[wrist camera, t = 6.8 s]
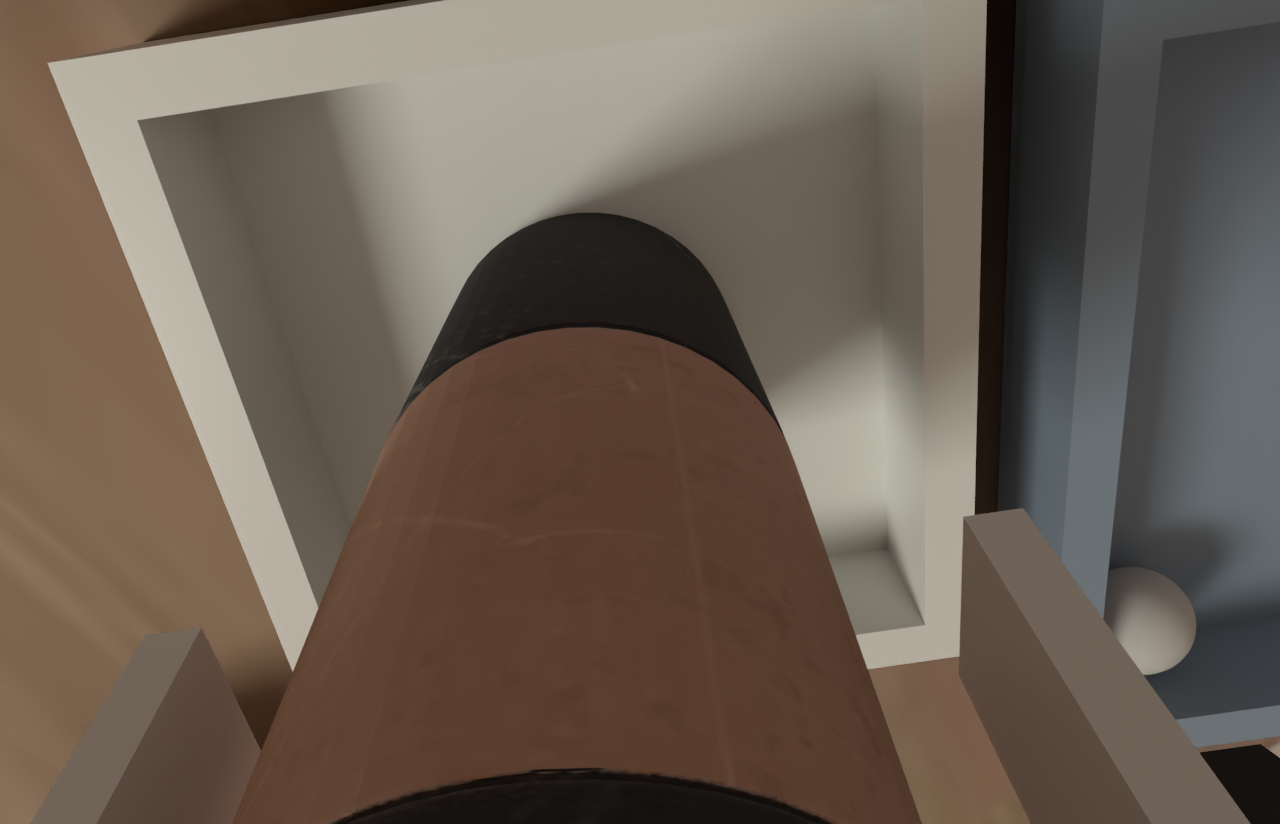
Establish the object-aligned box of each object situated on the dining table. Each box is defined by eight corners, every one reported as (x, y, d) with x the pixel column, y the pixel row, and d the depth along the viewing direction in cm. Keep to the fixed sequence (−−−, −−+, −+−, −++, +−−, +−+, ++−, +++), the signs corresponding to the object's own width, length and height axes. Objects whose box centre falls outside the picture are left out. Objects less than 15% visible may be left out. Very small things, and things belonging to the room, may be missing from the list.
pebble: (1055, 633, 29) (1103, 704, 26) (1062, 554, 27) (1113, 620, 25) (1153, 620, 29) (1212, 689, 26) (1164, 539, 27) (1227, 604, 25)
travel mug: (608, 513, 27) (624, 1641, 9) (385, 354, 24) (-191, 1480, 7) (798, 324, 25) (1329, 1360, 7) (572, 126, 22) (457, 936, 4)
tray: (356, 645, 28) (322, 746, 25) (141, 42, 21) (47, 63, 17) (922, 563, 28) (971, 654, 24) (918, -81, 20) (988, -86, 17)
